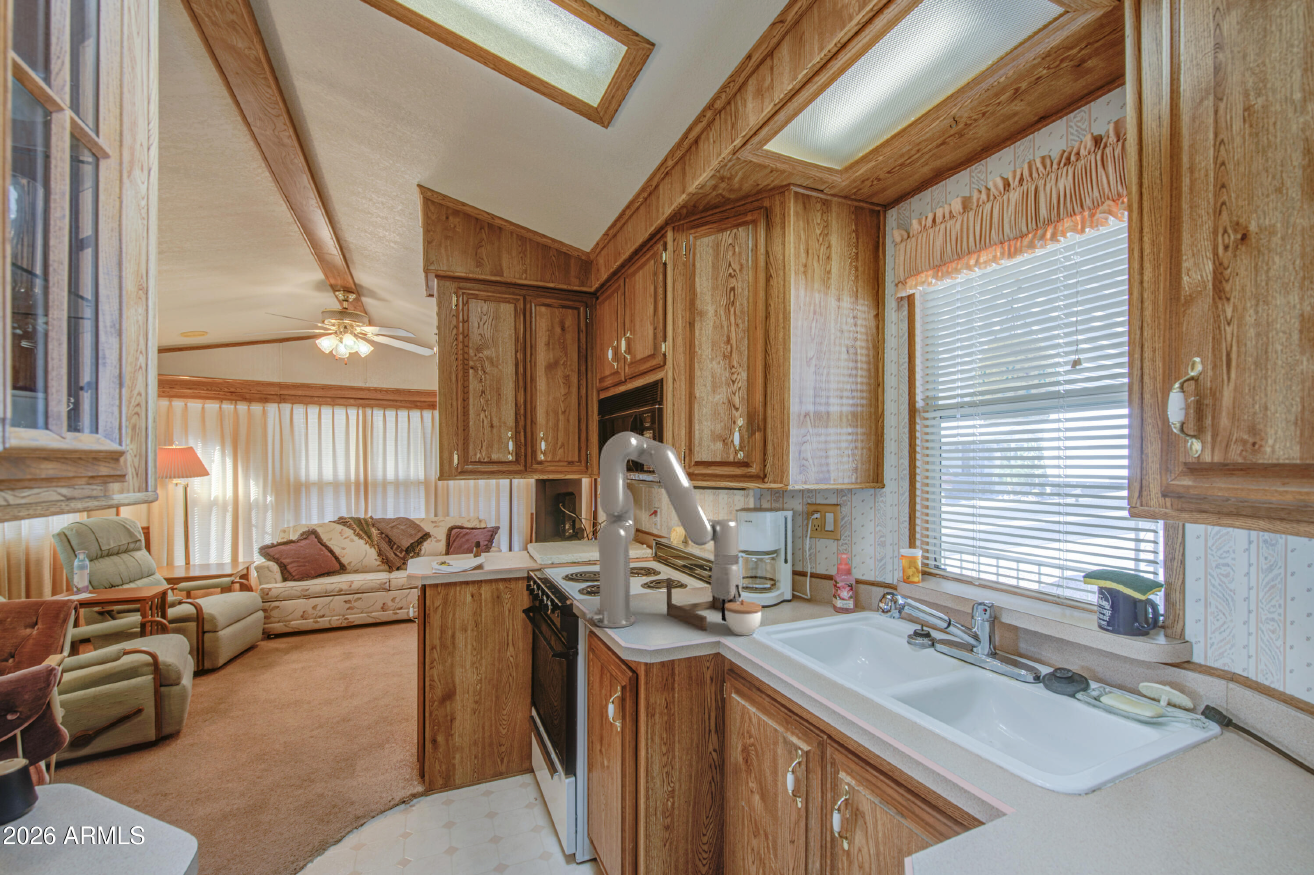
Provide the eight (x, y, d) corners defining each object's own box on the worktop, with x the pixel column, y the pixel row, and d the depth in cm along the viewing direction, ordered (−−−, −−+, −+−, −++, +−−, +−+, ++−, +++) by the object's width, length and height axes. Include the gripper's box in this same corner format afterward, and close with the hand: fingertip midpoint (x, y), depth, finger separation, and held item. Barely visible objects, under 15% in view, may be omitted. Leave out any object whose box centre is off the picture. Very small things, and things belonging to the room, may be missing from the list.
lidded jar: (746, 640, 155) (746, 606, 155) (717, 632, 162) (716, 599, 163) (769, 632, 162) (768, 599, 162) (740, 625, 170) (739, 593, 170)
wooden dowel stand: (703, 631, 164) (702, 589, 165) (666, 615, 182) (666, 578, 183) (755, 621, 173) (754, 582, 174) (715, 607, 192) (714, 572, 193)
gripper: (702, 557, 176) (703, 617, 175) (731, 564, 163) (732, 628, 162) (721, 555, 179) (722, 613, 178) (751, 562, 166) (752, 624, 165)
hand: (727, 620), depth 170 cm, fingers closed
